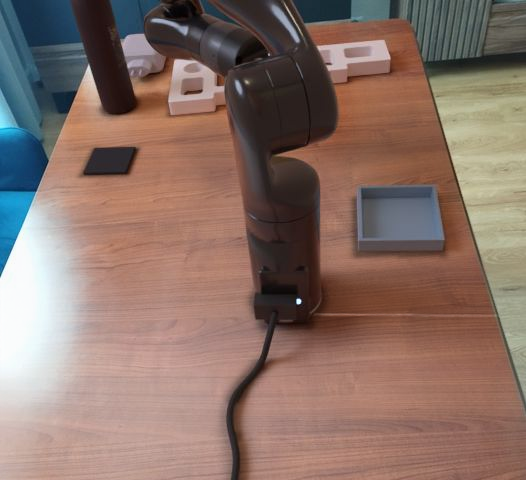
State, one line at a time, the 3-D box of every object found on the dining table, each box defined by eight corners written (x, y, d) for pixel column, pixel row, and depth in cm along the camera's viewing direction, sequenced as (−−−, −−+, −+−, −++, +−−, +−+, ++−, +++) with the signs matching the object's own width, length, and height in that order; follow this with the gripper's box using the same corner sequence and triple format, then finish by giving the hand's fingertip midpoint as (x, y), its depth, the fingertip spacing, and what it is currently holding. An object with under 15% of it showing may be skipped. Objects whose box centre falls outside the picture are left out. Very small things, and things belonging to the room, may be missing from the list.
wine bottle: (135, 112, 118) (89, -61, 95) (101, 116, 119) (46, -56, 95) (138, 95, 123) (94, -74, 100) (105, 99, 123) (53, -69, 100)
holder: (383, 52, 126) (384, 39, 124) (397, 94, 115) (398, 81, 112) (177, 72, 128) (174, 59, 126) (170, 115, 117) (167, 102, 115)
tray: (442, 253, 86) (445, 239, 84) (358, 254, 87) (358, 240, 85) (433, 197, 94) (435, 184, 92) (356, 199, 95) (357, 185, 93)
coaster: (126, 174, 105) (125, 171, 105) (83, 174, 106) (82, 172, 106) (135, 148, 110) (135, 146, 110) (95, 150, 111) (94, 147, 111)
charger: (117, 88, 126) (130, 56, 135) (159, 86, 125) (169, 53, 134) (111, 66, 122) (124, 34, 131) (154, 63, 121) (164, 32, 130)
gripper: (193, 46, 83) (268, 84, 75) (269, 12, 88) (348, 45, 80) (201, 96, 89) (272, 137, 81) (272, 62, 94) (346, 97, 86)
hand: (309, 91), depth 80 cm, fingers closed on cup, 6 cm apart
